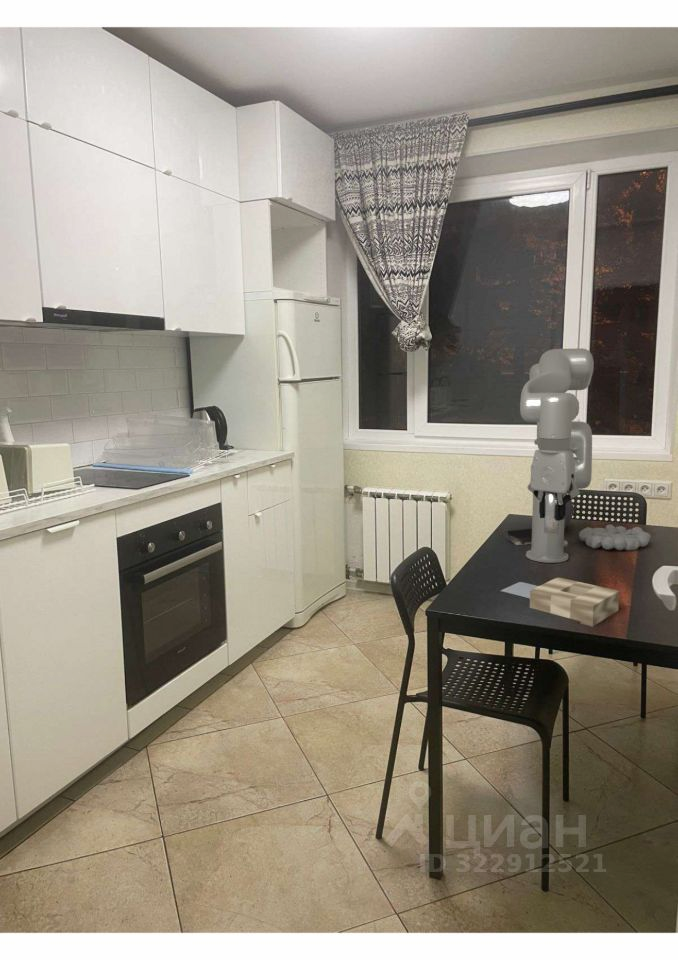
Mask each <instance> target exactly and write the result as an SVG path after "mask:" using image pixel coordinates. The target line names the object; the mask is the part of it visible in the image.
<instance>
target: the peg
mask: <svg viewBox="0 0 678 960" xmlns="http://www.w3.org/2000/svg"><path fill="white" fill-rule="evenodd" d="M556 505H558V497H557V493H554V492H546V491H545V510H544V533H546V534H558V533H559V521H556V520H555V515H556Z"/></svg>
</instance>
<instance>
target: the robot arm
mask: <svg viewBox="0 0 678 960" xmlns="http://www.w3.org/2000/svg"><path fill="white" fill-rule="evenodd" d="M594 367H595V366H594V358H593V355H592V353H591V352H590V350H588V349H587V348H580V347H579V348H578V347H577V348H552V349H549V350H547V351H545V352H544V353H543V354H542V355H541V357H540V359H539V362H538V363H536V364H533V365H532V366H531V367H530V369H529V373H528V375H529V380H528V381H527V382H526V383H525V384H524V385H523V387H522V390H521V394H520V402H519V403H520V404H519V411H520V412H519V413H520V416H521V418H522V419H523V420H524V421H525V422H528V423H536V439H535V440H534V445H537V449H535V451H534V453H533V454H534V455H533V458H532V463H531V464H530V465H531V466H530V482H529V484H528V485H527V487H526V489H527V490H528V491H530V492H531V493H532V513H531V514H532V518H531V521H532V522H531V529H532V544H531V548H530V550H527V551H526V552H525V553H526V554H525V557H526V558H527V559H529V560H531V561H535V562H540V563H546V564H549V563H550V564H552V563H554V564H555V563H563V562H566V561H567V560H568V559H569V554H568V553H567V552H565V551H564V548H565V547H568V546H569V542H568V541H567V540H565V528H564V522H565V512H566V504H567V503H568V502H569V501H571V500H572V499H573V498H576V497H578V496H579V495H580V494H581V492H580V490H583V489H586V488H588V487H589V486H590V484H591V482H592V476H593V475H592V473H593V472H592V471H593V469H592V468H593V433H592V432H593V431H592V428H591V426H590V424H588V423H587V422H585V421H577V420H575V419H576V418H577V416H578V415H579V412H580V401H579V399H578V397H577V396H576V395H575V394H573V393H570V392H568V391H583V390H586V389H588V388H589V387H590V384H591V381H592V377H593V374H594ZM574 420H575V421H574ZM574 455H575V456H574ZM579 489H580V490H579ZM545 491H546V492H554V493H557V497H558V505H556V515H555V520H556V521H559V533H558V534H546V533H544V510H545ZM568 492H569V493H568Z"/></svg>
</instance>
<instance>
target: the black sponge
mask: <svg viewBox="0 0 678 960" xmlns="http://www.w3.org/2000/svg"><path fill="white" fill-rule="evenodd" d="M506 539H507V540H508V541H510V542H511V543H513V544H514V545H516V546H518V545H522V546H528V545H527V544H531V545H532V528H525V529H524V528H523V529H516V530H514V529H513V530H508V531H507V533H506Z"/></svg>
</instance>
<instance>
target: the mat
mask: <svg viewBox="0 0 678 960" xmlns="http://www.w3.org/2000/svg"><path fill="white" fill-rule="evenodd" d="M538 586H539V585H535V584H531V583H527V582H524V581H522V582H521V581H519V582H517V583H514V584H512V585H510V586H507V587H505V588H503V589H501V590H500V592H504V593H506V594H507V593H508V594H511V595H516V596H519V597H524V598H527V599H530V590H532V589H534V588H536V587H538Z"/></svg>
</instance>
